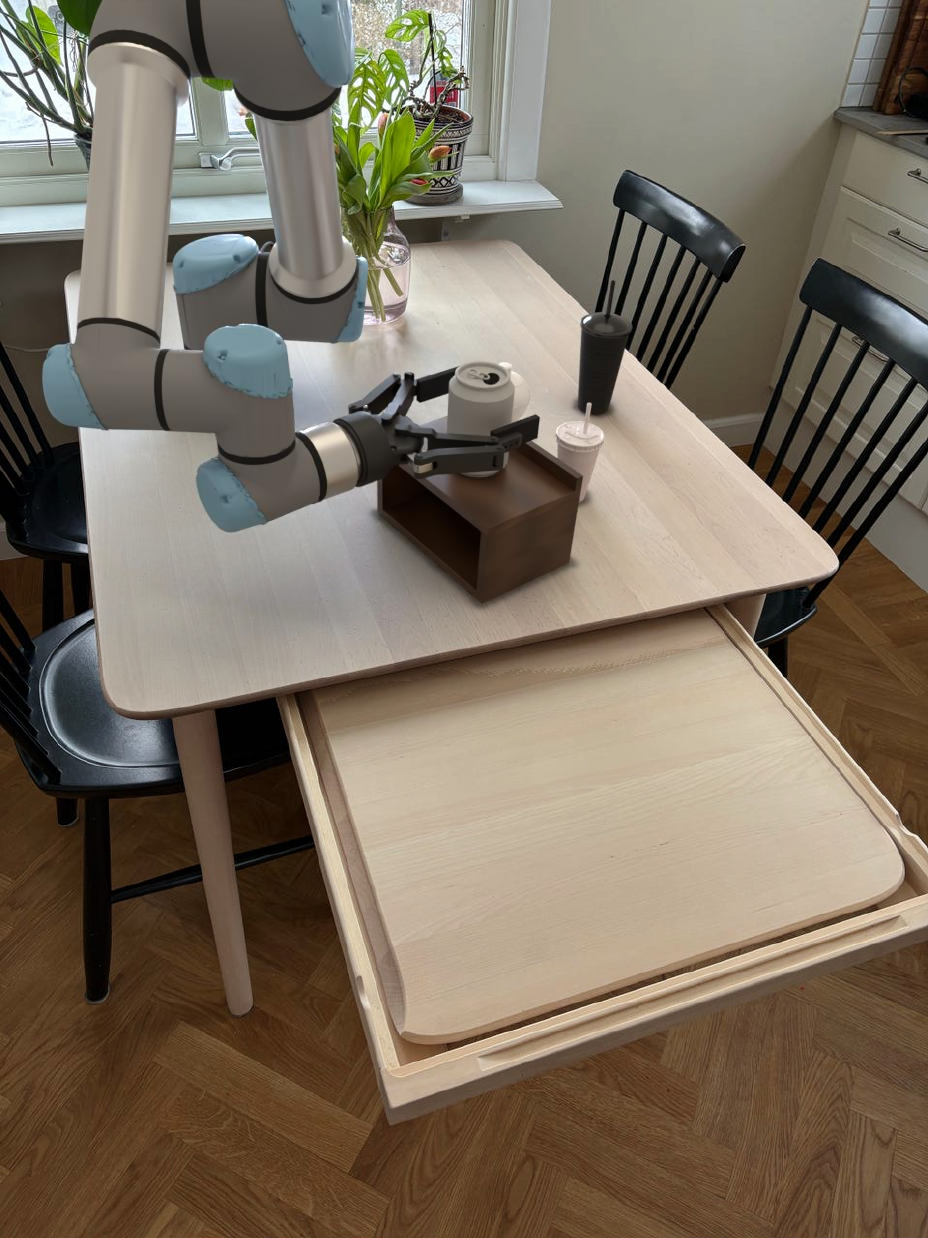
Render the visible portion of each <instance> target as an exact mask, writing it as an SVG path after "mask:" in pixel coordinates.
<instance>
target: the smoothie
mask: <svg viewBox="0 0 928 1238" xmlns="http://www.w3.org/2000/svg"><path fill="white" fill-rule="evenodd" d="M591 405H592V404H591V403H587V408H586V413H585V415H584V416H585V417H584V421H579V420H575V421H573V420H572V421H567V422H564V423H561V424H560V425H559V426H557V428H556V430H555V431H556V432H555V435H554V440H555V442H556V443H557V447H556V450H557V451H556V452H557V457H556V458H558V459H559V460H561V461H562V462H564V463H565V464H567V465H568V466H570V467H571V468H572V469H574V470H575V471H577V472H578V473H580V474H581V475H583V480H582V487H581V492H580V499H579V503H581V502H582V501H584V499H585V497H586V494H587V491H588V488H589V484H590V482H591V478H592V475H593V471H594V469H595V465H596V463H597V459H598V456H599V453H600V450H601V448H603V446H604V444H605V432H604V431H603V430H602V429H601V427H599V426H597V425H595V424H593V423H590V417H591V414H590V411H591Z"/></svg>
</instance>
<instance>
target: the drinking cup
mask: <svg viewBox="0 0 928 1238" xmlns="http://www.w3.org/2000/svg"><path fill="white" fill-rule="evenodd" d="M615 287H616V280H614V279H611V280H610V282H609V290H608V297H607V302H606V308H605V311H599V312H593V313H588V314H585V315H584V316H582V317H581V319H579V327H580V329H581V330H580V346H579V347H580V348H579V367H578V389H577V408H578V410H580V411H581V412H583V413H584V414H586V408H587V403H591V404H592V405H591V411H590V415H596V416H597V415H598V416H599V415H603V414H605V413H607V412H608V410H609V409H610V405H611V401H612V397H613V394H614V390H615V386H616V383H617V379H618V376H619V372H620V368H621V364H622V361H623V357H624V354H625V350H626V348H627V344H628V340H629V337H630V334H631V333H632V331H633V324H632V322H631V321H630V320H628V319H627V318H625V317H624V316H622V315H619V314H616V313H613V312H611V311H612V307H613V306H612V305H613V299H614V292H615Z"/></svg>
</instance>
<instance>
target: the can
mask: <svg viewBox="0 0 928 1238" xmlns="http://www.w3.org/2000/svg"><path fill="white" fill-rule="evenodd" d="M458 366H459V367H458ZM458 366H457V367H458V368H457V369H456V370H455V376H454V377H453V378H452V379H451V380H450V381H449V393H448V394H447V415H448V416H447V415H446V416H447V433H453V434H468V435H483V436H490V431H491V430H494V429H497V428H499V427H502V426H505V425H508V424H510V423H511V422H512V412H513V402H514V392H515V386H514V384H513V382H512V381H511V380H510V373H509V371H508V370H507V369H505V368H504V367H503V366H501V365H499V364H498V363H495V362H491V361H487V360H485V361H484V360H476V361H469V362H465V363H463V364H461V365H458ZM486 446H487V445H486ZM508 453H509V452H506V453H504V463H503V468H504V467H505V466H506V464H507V462H508ZM496 472H498V471H485V472H470V473H461V474H463V475H466V476H470V477H487V476H490V475H493V474H495V473H496Z"/></svg>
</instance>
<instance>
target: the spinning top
mask: <svg viewBox="0 0 928 1238" xmlns="http://www.w3.org/2000/svg"><path fill="white" fill-rule="evenodd" d="M498 365H501V366H503V367H504V368H505V369H507V370H508V371H509V373H510V380H511V381H512V382H513V384H514V386H515V392H514V402H513V412H512V422H511V423H513V422H516V421H518V420H521V418H522V417H523V415H524V414H525V412H526V410H527V409H528V407H529V404H530V400H531V392H530V388H529V386H528V384H527V382H526V381H525V379H524V378H523V377H522V375H520V374H519V373H517V372H515V371H513V365H512V364H511V363H510V362H507V361H506V362H500V363H499V364H498Z"/></svg>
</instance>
